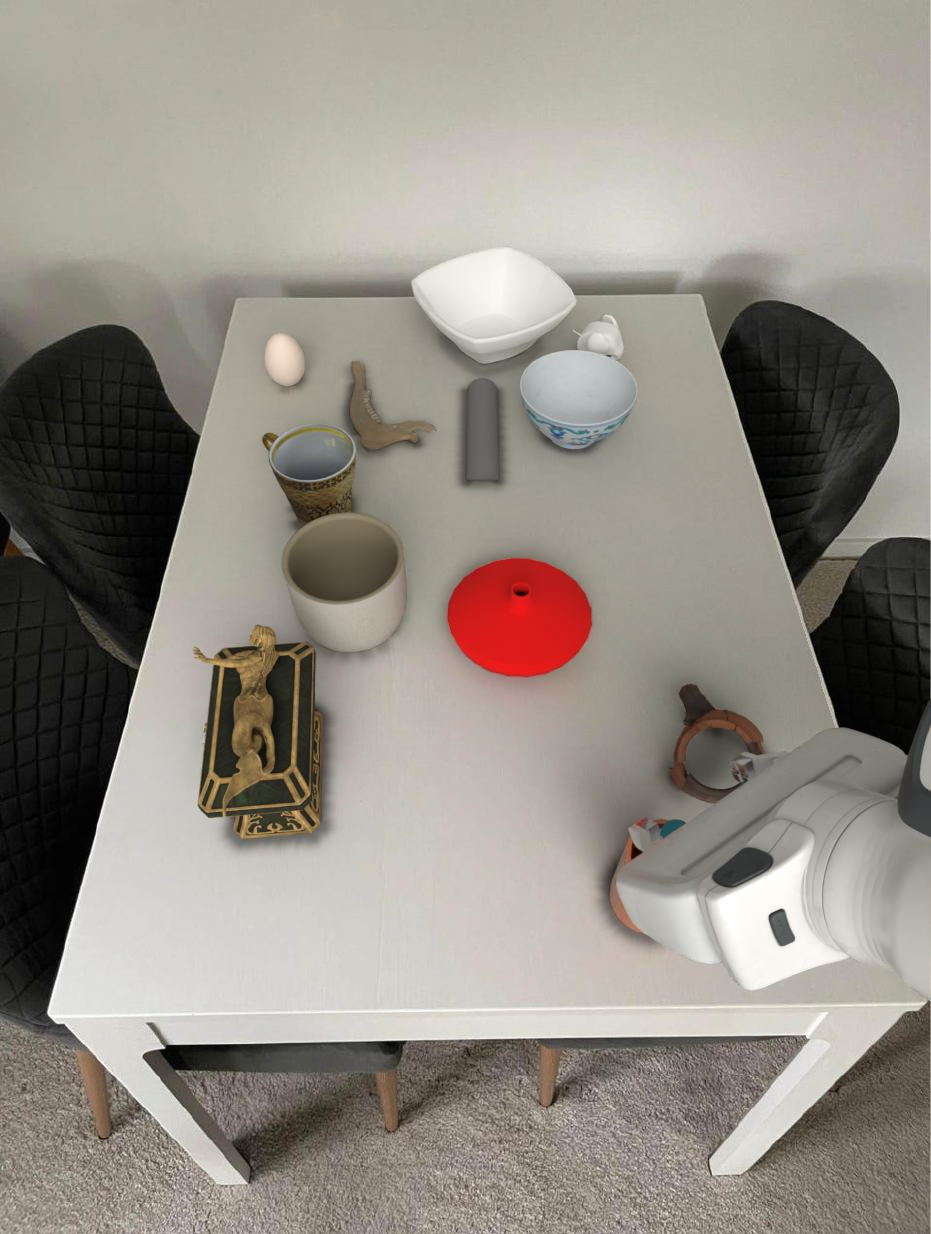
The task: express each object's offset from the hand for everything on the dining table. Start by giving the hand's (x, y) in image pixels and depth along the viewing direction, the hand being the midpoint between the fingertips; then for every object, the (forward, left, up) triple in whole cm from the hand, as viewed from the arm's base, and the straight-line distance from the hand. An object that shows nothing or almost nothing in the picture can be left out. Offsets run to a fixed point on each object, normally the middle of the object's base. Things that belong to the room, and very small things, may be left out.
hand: (689, 797), depth 59 cm
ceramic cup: (+55, -20, -19) cm, 62 cm away
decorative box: (+34, +11, -19) cm, 40 cm away
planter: (+40, -9, -19) cm, 45 cm away
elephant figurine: (+41, -66, -19) cm, 79 cm away
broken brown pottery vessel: (+1, -15, -19) cm, 24 cm away
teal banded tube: (-1, +1, -18) cm, 18 cm away
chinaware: (+35, -50, -19) cm, 64 cm away
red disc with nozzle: (+24, -18, -19) cm, 36 cm away
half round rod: (+45, -43, -19) cm, 65 cm away
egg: (+74, -37, -19) cm, 85 cm away
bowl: (+55, -61, -19) cm, 84 cm away
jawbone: (+59, -41, -19) cm, 75 cm away
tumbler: (-1, +1, -19) cm, 19 cm away
